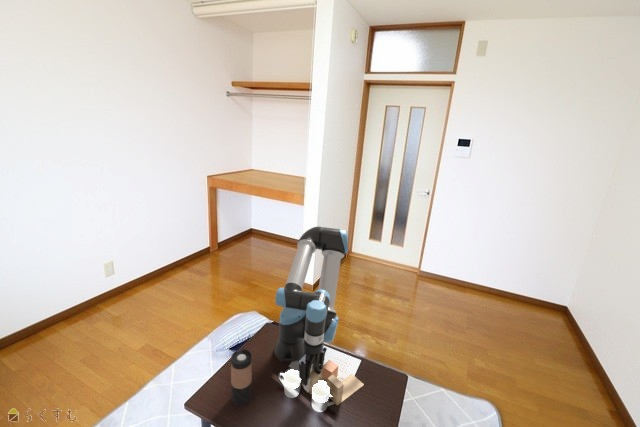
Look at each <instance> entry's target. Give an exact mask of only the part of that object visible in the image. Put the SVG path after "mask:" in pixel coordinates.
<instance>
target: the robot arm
mask: <svg viewBox="0 0 640 427" xmlns="http://www.w3.org/2000/svg"><path fill="white" fill-rule="evenodd" d="M348 233H349V232H348V231H347V230H345V229H340V228H334V227H325V226H313V227H311V228H310V229H308V230H306V231H305V232H304V233H303V234H302V235H301V236H300V237H299V239H298V242H297V244H296V247H297V250H296V253H295V256H294V259H293V261H292V262H293V263H292V264H291V267H290V270H289V273H288V275H287V278H286V279H287V280H286V282H285V284H284V286H283V287H278V288H277V290H276V293H275V300H274V301H275V304H276V306H277V307H281V308H283V309H282V310H281V311H280V314H279V318H278V322H279V324H278V339H277V342H276V343H275V346H274V355H275V358H276V359H277V360H278V361H279V362H281V363H282V364H285V363H287V362H291V363H293V362H298V376H299V378H300V379H301V381H302V384H304V387H303V389H304V391H306V393H309V389H310V378H309V375H310V370H311V368H312V369H313V370H314V371H315V372H316V373H317V374H320V373H321V372H322V368H323V365H324V364H325V357H326V356H325V355H326V352H327V349H328V348H327V347H326V346H325V345H324V343H327V344H330V343H332V342H333V341H334V338H335V335H336V332H337V327H338V325H339V321H340V319H339V318H340V317H338V315H337V311H336V310H335V302H336V295H337V289H338V281H339V274H340V266H341V261H342V259H343V258H344V257H345V255H346V254H348V252H349V250H348V248H349V246H348V245H349V242H348V241H349V240H348V239H349V234H348ZM316 250H320V251H321V252H320V253H321V255H322V256H323V259H322V264H321V265H322V266H321V271H320V275H319V276H320V277H319V284H318V288H317V290H315V291H314V292H312V291H305V290H303V289H304V288H303V287H304V285H305V284H304V283H305V281H306V276H307V274H308V270H309V267H310V264H311V260H312V256H313V254H315V252H316ZM320 370H321V371H320Z"/></svg>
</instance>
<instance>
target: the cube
mask: <svg viewBox="0 0 640 427" xmlns="http://www.w3.org/2000/svg"><path fill="white" fill-rule="evenodd" d="M321 372H322V374H321V376H323V377H324V378H326V379H328V378H329V377H330V376H332V375H334V376H335V377H336V376H337V375H338V374H339V373H338V372H339V365H338V364H336V363H335V362H334V361H332V360H330V359H328V360H327V361H326V362H324V363H323V368H322V370H321Z"/></svg>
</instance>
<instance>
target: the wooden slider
mask: <svg viewBox="0 0 640 427" xmlns="http://www.w3.org/2000/svg"><path fill="white" fill-rule="evenodd" d="M320 372H321V373H320V374H317V373H316V372H315V371H314V369H313V367H311V370H310V375H309V378H310V389H309V392H308V393H309V395H311V393H312V387H313V385H314V384H316V383H318V380H324V381H326V382H327V379H326V378H324V377H323V376H321V374H322V371H320ZM341 377H342V376H341V375H340V374H339V373H338V375H337V376H336V378H337V379H338V380H339V378H341ZM301 386H302V387H303V388H304V384H303V383H302V384H301Z"/></svg>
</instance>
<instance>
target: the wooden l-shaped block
mask: <svg viewBox="0 0 640 427" xmlns="http://www.w3.org/2000/svg"><path fill="white" fill-rule="evenodd" d="M327 385H328V386H329V387H330V394H331V395H332V396H333V397H331V398H329V399H330V400H331V401H332V402H333V403H334V404H335V405H336V406H339V405H340V404H341V403H342V402H344V401H345V400H346V399H348V398H349V397H350V396H352V395H353V394H354V393H355V392H357V391H358V390H360V388H362V387H364V385H365V384H364V383H363V382H362V381H361V380H360V379H358V378H357V377H356V376H355V375H354V374H352V373H351V374H350V375H348V376H347V377H346V378H344V379H343V380H341V381H340V379H339V378H338V379H337V378H336V377H335V376H334V375H332V376H330V377H329V378H328V379H327Z"/></svg>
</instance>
